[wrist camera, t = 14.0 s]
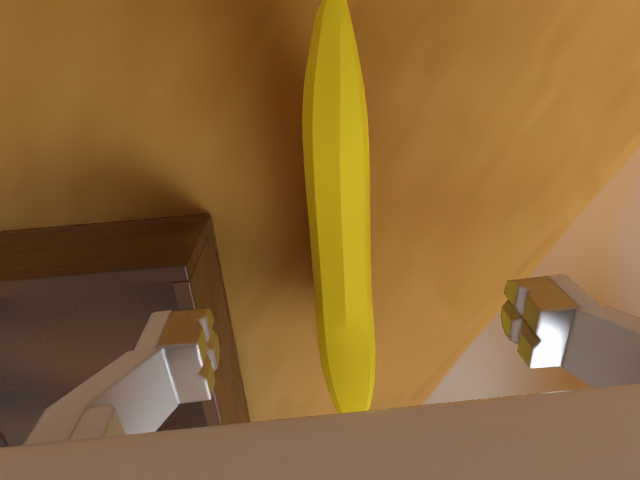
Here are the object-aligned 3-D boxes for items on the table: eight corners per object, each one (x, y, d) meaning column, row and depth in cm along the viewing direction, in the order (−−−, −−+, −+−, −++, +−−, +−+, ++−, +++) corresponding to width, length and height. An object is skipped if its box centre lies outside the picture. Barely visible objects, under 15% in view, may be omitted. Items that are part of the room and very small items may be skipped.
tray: (-106, 240, 21) (-230, 301, 16) (210, 213, 21) (185, 265, 16) (47, 527, 30) (-1, 623, 25) (266, 505, 31) (260, 595, 26)
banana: (360, -9, 18) (392, -34, 12) (368, 357, 26) (389, 448, 20) (289, -4, 18) (288, -27, 12) (319, 361, 26) (326, 454, 20)
